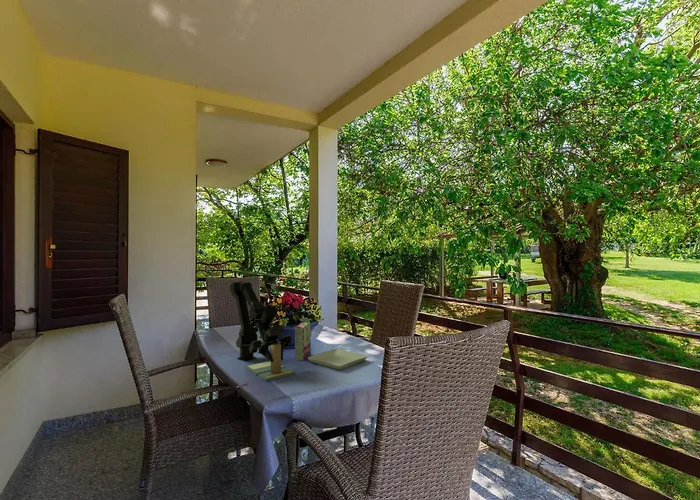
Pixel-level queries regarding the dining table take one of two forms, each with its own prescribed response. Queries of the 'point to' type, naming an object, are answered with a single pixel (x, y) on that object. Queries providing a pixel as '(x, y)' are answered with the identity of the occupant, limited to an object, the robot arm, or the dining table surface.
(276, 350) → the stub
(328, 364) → the salad plate
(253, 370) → the ticket
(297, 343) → the candy bar box
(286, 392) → the dining table surface
